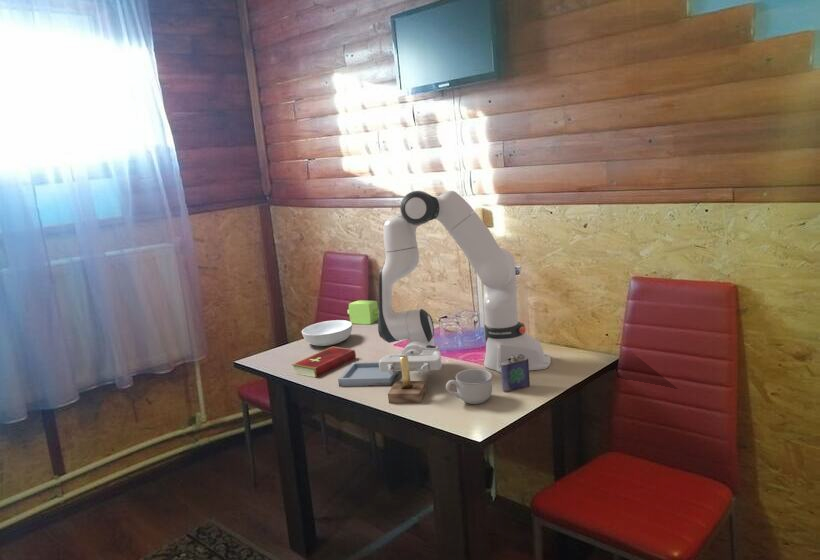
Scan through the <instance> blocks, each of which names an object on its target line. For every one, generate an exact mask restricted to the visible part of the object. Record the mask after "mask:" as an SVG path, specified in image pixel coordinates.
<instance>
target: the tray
mask: <svg viewBox="0 0 820 560" xmlns="http://www.w3.org/2000/svg"><path fill="white" fill-rule="evenodd" d="M399 373H400V372H399V371H395V373H394V374H389V372H382V371H380V369H379V361H361V362H359V361H358V362H352V363H350V365H349V366H348V367H347V368H346V370H344V372H343V373H342V374H341V375H340V376H339V378H338V379H337V380H338V381H337V382H338V387H367V386H368V385H388V386H391V385H392V384H393V383H392V382H394V381H395V380H396V378H397V377H398V375H399ZM364 385H365V386H364ZM368 387H369V386H368Z"/></svg>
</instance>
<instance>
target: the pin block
mask: <svg viewBox="0 0 820 560" xmlns="http://www.w3.org/2000/svg"><path fill="white" fill-rule="evenodd" d="M394 381H395V382H394V383H393V385H392V386H391V388H390V389H389V391H388V393H387V398H388V403H389V404H404V403H405V404H412V403H413V404H414V403H415V404H417V403H418V404H419V403H422V401H423V398H424V396H425V395H426V393H427V390H428V386H427V381H426V380H410V382H411V389H404V388H403V380H402V381H401V380H399V381H396V380H394Z"/></svg>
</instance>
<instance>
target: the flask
mask: <svg viewBox="0 0 820 560" xmlns="http://www.w3.org/2000/svg"><path fill="white" fill-rule="evenodd" d="M511 357H512V358H511V360H510V361H507V362H504V363H501V374H500V375H501V386H502V388H501V390H502V392H504V393H510V392H515V391H518V390H520V389H525V388H530V385H531V384H530V383H531V382H530V371H529V363H528V359H527V358H525V357H524V358H522V357H520V358H516V357H515V355H514V354H513V355H511Z"/></svg>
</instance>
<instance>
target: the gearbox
mask: <svg viewBox="0 0 820 560" xmlns="http://www.w3.org/2000/svg"><path fill="white" fill-rule="evenodd" d="M347 315H349V321H350V322H351V323H352V324H355V325H358V324H359V325H372V324H374V323H375V322H378V319H379V304H378V301H377V300H367V299H366V300H363V299H362V300H361V299H359V300H356V301H353V302H350V303H348V309H347Z"/></svg>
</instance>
